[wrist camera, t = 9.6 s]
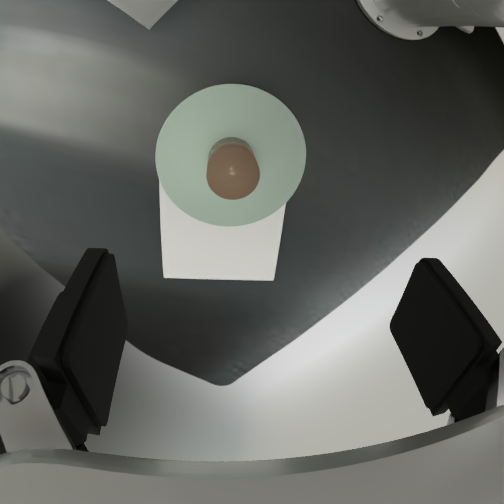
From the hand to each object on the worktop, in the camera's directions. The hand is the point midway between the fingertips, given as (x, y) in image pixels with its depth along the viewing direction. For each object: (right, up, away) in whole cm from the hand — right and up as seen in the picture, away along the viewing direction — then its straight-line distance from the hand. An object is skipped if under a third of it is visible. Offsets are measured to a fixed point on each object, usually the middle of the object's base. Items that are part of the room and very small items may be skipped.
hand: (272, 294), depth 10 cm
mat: (-4, +4, +31) cm, 31 cm away
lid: (-2, +9, +16) cm, 19 cm away
